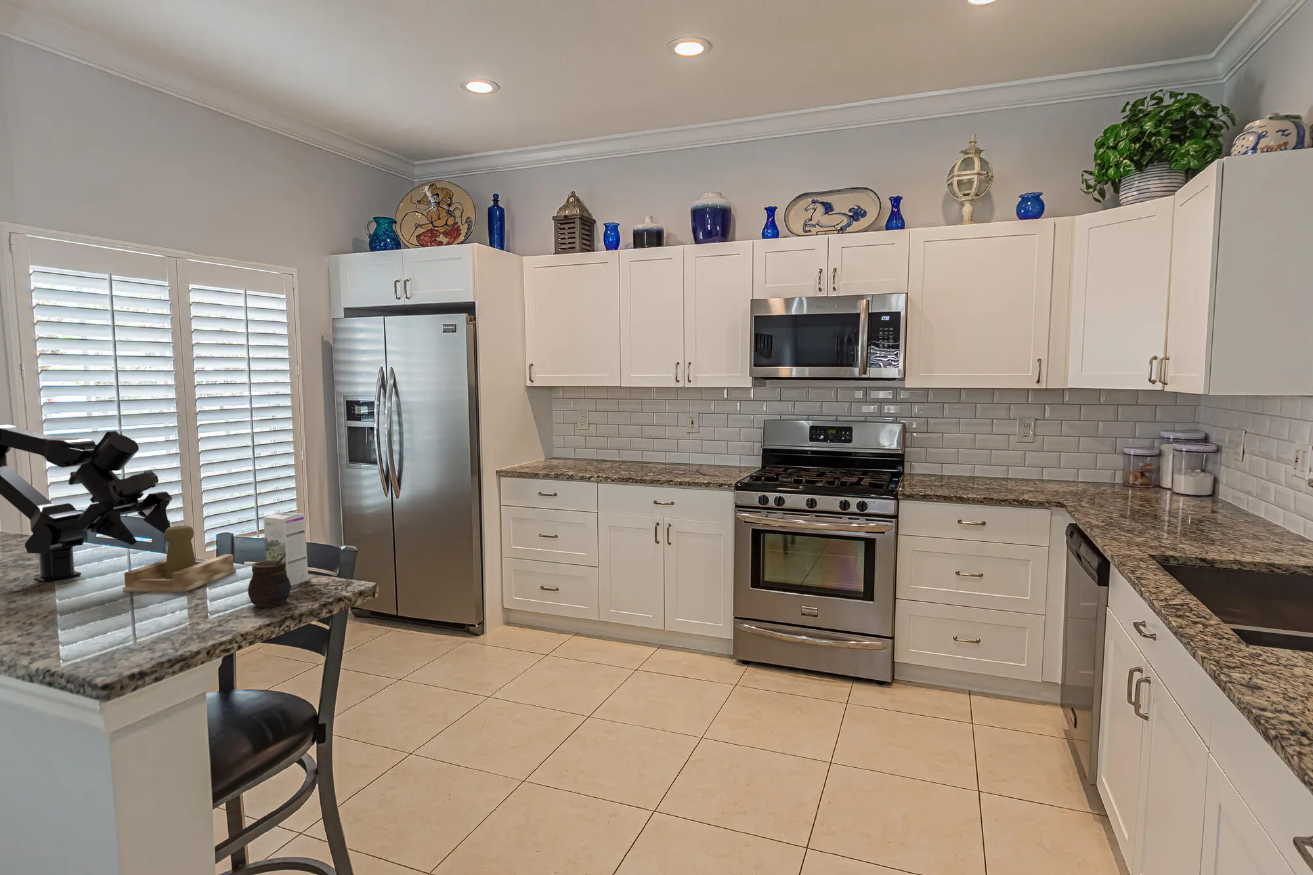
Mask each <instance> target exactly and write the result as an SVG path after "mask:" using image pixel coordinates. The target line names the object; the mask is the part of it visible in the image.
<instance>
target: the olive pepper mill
mask: <svg viewBox="0 0 1313 875" xmlns="http://www.w3.org/2000/svg"><path fill="white" fill-rule="evenodd" d="M163 535H164V536H163V537H164V540H165V541H166V542H167V549H166V550H167V551H166V558H165V559H166V569H165V579H172V573H174V572H177V571H179V570H182V569H185V568H188V567H191V566H193V565H196V561H197V560H196V556H195V552H194V547H193V543H192V540H193V538H194V535H195V531H194V529H193V526H190V525H185V524H181V525H180V524H179V525H173V526H170V527H169V528H167V529H166V531H165V533H163Z"/></svg>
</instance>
